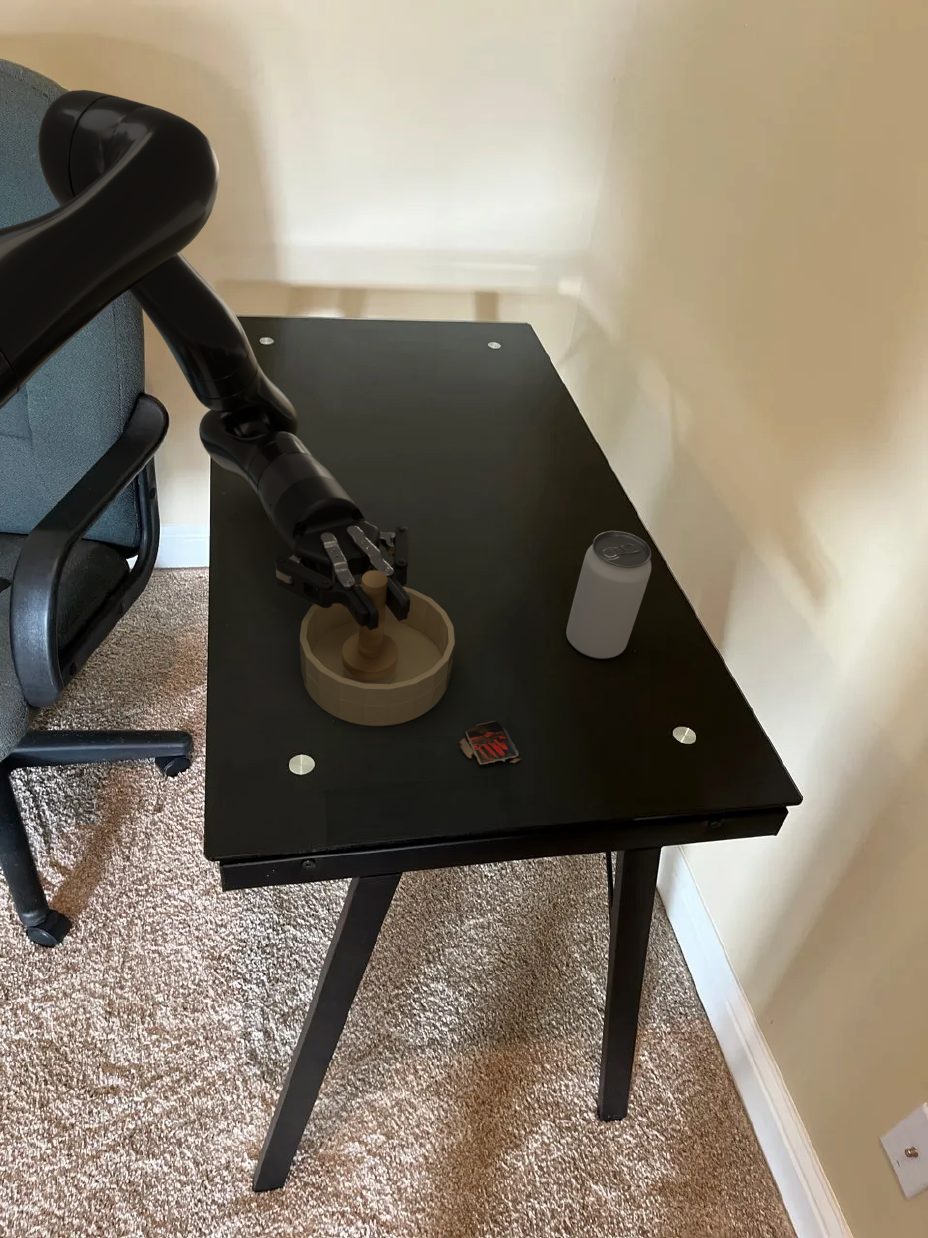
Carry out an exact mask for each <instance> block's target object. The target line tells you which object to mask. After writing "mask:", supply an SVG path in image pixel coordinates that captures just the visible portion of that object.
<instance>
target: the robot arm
mask: <svg viewBox="0 0 928 1238" xmlns="http://www.w3.org/2000/svg"><path fill="white" fill-rule="evenodd" d="M37 143H38V144H37V145H38V147H37V150H38V157H39V163H40V164H39V165H40V168H41V171H42V174H43V178H44V180H45V182H46V185H47V186H48V189H49V190H50V192H51V195H52V196H53V197H54V199H55V201H56V202H57V203H58V205H59V206H58V207H57V208H55V209H53V210H51V211H49V212H46V213H45V214H42V215H39V216H37V217H35V218H31V219H29V220H25V221H21V222H18V223H16V224H12V225H9V226H5V227H1V228H0V411H1V410H2V409H3V408H4V407H5V406H6V405H7V404H8V403H10V401H11V400H12V399H13V398H15V396H16V395H17V394H18V393H19V392H20V391H21V390H22V389H23V388H24V387H25V386H26V385H27V383H28V382H29V381H30V380H31V379H32V378H33V377H34V376H35V375H36V374H37V373H38V372H39V371H40V370H41V368H43V366H45V364H46V363H48V361H50V360H51V359H52V358H53V357H54V356H56V354H57V353H58V352H60V351H61V350H62V349H63V348H64V347H65V346H66V345H67V344H68V343H69V342H71V341H72V340H73V339H74V338H75V337H76V336H78V335H79V333H81V331H82V330H84V329H85V328H86V327H87V326H88V325H89V324H91V323H92V322H93V321H94V320H95V319H97V317H98V316H100V314H102V312H103V311H105V310H106V309H107V308H108V307H109V306H110V305H112V304H113V303H114V302H115V301H117V300H118V299H119V298H120V297H122V296H123V295H124V294H125V293H127V292H129V293H130V295H131V296H132V297H133V298H134V300H135V301H136V303H137V304H138V305H139V306H140V308H141V309H142V310H143V312H144V314H146V316H147V317H148V319H149V320H150V321H151V323H152V324H153V326H154V328H156V330H157V331H158V334H159V335H160V336H161V338H162V339H163V341H164V342H165V345H166V346H167V347H168V349H169V351H170V352H171V355H172V356H173V358H174V360H175V362H176V363H177V366H178V367H179V369H180V371H181V372H182V374H183V376H184V378H185V380H186V381H187V383H188V385H189V387H190V388H191V390H192V392H193V394H194V396H195V397H196V399H197V400H198V401H199V402H200V404H201V405H203V407H205V408H206V409H208V411H207V412H206V413H204V415H203V416H202V418H201V420H200V423H199V426H198V427H199V428H198V434H199V440H200V442H201V444H202V447H203V448H204V450H205V452H207V454H208V456H210V458H211V459H212V460H213V461H214V462H215V463H217V465H218V466H220V467H221V468H223V469H224V470H226V471H227V472H228V473H230V474H232V475H234V476H236V477H237V478H239V479H240V480H242V481H243V482H245V483H247V484H248V485H249V486H250V488H251V489H252V491H253V492H254V493H255V495H256V496H257V498H258V499H259V500H260V502H261V504H262V507H263V509H264V512H265V514H266V515H267V517H268V520H269V521H270V524H271V525H272V526H274V528H275V529H276V531H277V532H278V534H279V535H280V536H281V538H282V539H283V541H284V542H285V544H286V545H287V547H288V548H289V550H290V551H291V553H292V555H291V556H290V557H288V556H279V557H277V558H276V559H275V562H274V563H275V577H276V584H277V585H278V586H280V587H282V588H284V589H285V590H287V591H290V592H291V593H293V594H295V595H297V596H299V597H301V598H303V599H305V600H306V601H308V602H310V603H313V605H314V604H316V605H318V606H320V607H322V608H330V607H331V606H332V605H333V604H334V603H340V604H342V605H343V606H344V607H347V609H348V610H349V612H350V613H351V614H352V616H353V617H354V619H355V620H356V622H357V623H358V624H359V625H361V626H362V627H363V626H367V628H368V629H369V630H373V629H376V628H378V624H379V613H378V610H377V608H376V606H375V605H374V604H373V602H372V601H371V600H370V598H369V597H368V595H367V594H366V593H365V592H364V591H363V590H362V587H361V586H360V585H358V584H357V585H358V586H355V585H356V580H355V578H354V576H359V578H360V579H362V576H363V575H364V574H365V573H366V572H368V571H373V570H376V571H380V572H383V573H384V574H385V575H386V576H387V578H388V584H387V596H386V605H387V607H388V608H389V609H390V611H391V612H392V613H393V615H394V616H395V617H396V619H397V620H398V621H402V620H405V619H407V617H408V612H409V610H410V596H409V594H408V593H407V592H406V591H405V589H404V588H403V587H405V586H406V585H407V583H408V567H409V529H408V527H406V526H405V525H399V526H398V525H397V526H396V527H395V529H394V532H387V531H380V529H379V528H378V527H377V526H375V525H374V524H371V523H369V522H368V521H367V520H366V519H365V516H364V515H363V513H362V511H361V510H360V507H359V506H358V505H357V503H355V502H354V500H353V499H352V498H351V496H350V495H349V494H348V493H347V491H346V490H345V489H344V487H342V485H341V484H340V483H339V481H338V480H337V479H336V477H334V475H333V474H332V472H330V471H329V470H328V468H326V466H324V465H323V464H322V463H320V462H319V460H318V459H317V458H316V457H315V455H314V454H313V453H312V452H311V451H310V449H309V448H308V447H307V446H306V444H304V442H303V441H302V440H301V439H300V438H299V437H298V436H297V435H298V432H299V426H300V420H299V415H298V412H297V410H296V408H295V406H294V405H293V403H292V402H291V400H290V399H289V398H288V397H287V396H286V394H285V393H284V392H283V391H282V390H281V389H280V388H279V387H278V386H277V385H276V384H275V383H273V381H272V380H271V379H269V377H268V376H267V375H266V374H265V372H263V369H262V368H261V366H260V365H259V362H258V360H257V357H256V356H255V353H254V350H253V348H252V345H251V344H250V342H249V339H248V337H247V334H246V332H245V330H244V327H243V326H242V323H241V322H240V320H239V319H238V317H237V316H236V314H235V312H234V311H233V310H232V308H231V307H230V306H229V305H228V304H227V303H226V302H227V301H225V300H224V299H223V298H222V296H221V295H220V294H219V293H218V291H217V290H216V289H215V288H214V287H213V286H212V285H211V284H210V283H209V282H208V281H207V280H206V279H205V277H203V276H202V274H201V273H200V272H199V271H198V270H197V269H196V268H195V267H194V266H193V265H192V263H191V262H190V261H189V260H188V259H187V257H186V256H185V255H184V254H183V253H182V252H181V251H183V250H184V249H185V248H186V247H187V246H188V245H190V244H191V243H192V242H193V241H194V239H195V238H197V236H198V235H199V234H200V232H201V231H202V229H203V228H204V227H205V226H206V224H207V222H208V220H209V219H210V217H211V214H212V213H213V210H214V208H215V205H216V202H217V199H218V194H219V188H220V174H221V173H220V172H221V171H220V164H219V160H218V157H217V154H216V151H215V148H214V146H213V145H212V143H211V142H210V140H209V139H208V137H207V135H206V134H205V133H204V132H203V131H201V129H200V128H198V126H196V125H195V124H194V123H192V122H190V121H188V120H187V119H185V118H183V117H181V116H180V115H177V114H175V113H172V112H171V111H168V110H165V109H163V108H160V107H157V106H156V107H155V106H152V105H149V104H146V103H141V102H139V101H135V100H131V99H128V98H126V97H125V98H124V97H121V96H117V95H113V94H110V93H104V92H99V91H96V90H95V91H94V90H88V89H78V90H70V91H68V92H66V93H63V94H60V95H59V96H58V97H56V99H54V100H53V101H52V102H51V103H50V105H49V106H48V108H47V109H46V110H45V113H44V115H43V118H42V120H41V122H40V127H39V131H38V142H37ZM380 547H382V548H384V549H385V552H387V553H388V555H389V558H393V564H391V565H390V564H389V563H388V562H387V561H386V560H385V559H384V557H383V556H382V553H381V551H380V549H379V548H380Z"/></svg>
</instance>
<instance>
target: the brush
mask: <svg viewBox="0 0 928 1238" xmlns="http://www.w3.org/2000/svg"><path fill="white" fill-rule="evenodd" d="M361 584H362V586H361V587H362V590H363V591H364V592H365V593H366V594H367V595H368V597H369V598H370V600H371V601H372V602H373V604H374V605H375V606H376V608H377V610H378V613H379V624H378V628H376V629H373V630H369V629H368V628H367V626H363V627H362V626H361V625H360V627H359V632H358V633H355V634H353V635H352V636H350V637H349V638H348V639H347V640H346V641H345V643H344V644H343V647H342V663H343V666H344V676H345V678H346V679H350V680H353V681H357V682H361V683H365V684H389V683H390V682H391V681H392V679H393V677H394V670H395V667H396V665H397V661H398V647H397V645H396V643H395V642H394V641H393V639H391V638H390V637H389V636H387V635H386V634H384V622H385V609H386V596H387V584H388V578H387V576H386V575H385V574H384V573H383V572H380V571H376V570H373V571H368V572H366V573H365V574H364V575H363V576H362V578H361Z"/></svg>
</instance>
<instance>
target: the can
mask: <svg viewBox="0 0 928 1238" xmlns="http://www.w3.org/2000/svg"><path fill="white" fill-rule="evenodd" d="M651 558H652V550H651V547H650V546H649V544H648V543H647V542H646V541H645V540H644V539H642V538H640V537H639V536H637V535H635V534H633V533H630V532H626V531H621V530H608V531H603V532H601V533H598V534H597V536H595V537H594V539H593V541H592V544H591V545H590V546H589V547H588V548H587V550H586V553H585V555H584V558H583V562H582V566H581V568H580V569H581V570H580V573H579V578H578V581H577V585H576V589H575V592H574V597H573V601H572V604H571V609H570V613H569V616H568V621H567V626H566V631H565V634H566V638H567V640H568V642H569V643H570V645H571V646H572V647H573V648H574V649H575V650H576V651H577V652H579V653H580V654H581V655H584V656H586V657H589V658H592V659H598V660H606V659H607V660H608V659H612V658H615V657H617V656H619V655H620V654H622V653H623V652H625V650H626V648H627V646H628V644H629V640H630V637H631V634H632V631H633V628H634V625H635V622H636V619H637V617H638V613H639V610H640V607H641V604H642V601H643V598H644V594H645V592H646V588H647V585H648V582H649V579H650V576H651V573H652V561H651Z"/></svg>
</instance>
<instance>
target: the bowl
mask: <svg viewBox="0 0 928 1238" xmlns="http://www.w3.org/2000/svg"><path fill="white" fill-rule="evenodd" d="M358 585H360V586H362V583H359V584H355V586H358ZM402 587H403V588H404V589H405V591H406V592H407V593H408V594H409V596H410V610H409V612H408V617H407V619H405V620H402V621H398V620H397V619H396V617H395V616H394V615H393V613H392V612H391V611H390V609H389V608H388V607H387V605H386V609H385V622H384V634H386V635H387V636H389V637H390V638H391V639H393V641H394V642H395V643H396V645H397V647H398V661H397V665H396V667H395V670H394V677H393V679H392V681H391V682H390V683H389V684H365V683H361V682H357V681H353V680H350V679H346V678H345V676H344V666H343V663H342V647H343V644H344V643H345V641H346V640H347V639H348V638H349V637H350V636H352V635H353V634H355V633H358V632H359V627H360V625H359V624H358V623H357V622H356V620H355V619H354V617H353V616H352V614H351V613H350V612H349V610H348V609H347V607H344V606H343V605H342V604H340V603H334V604H333V605H332V606H331V607H330V608H322V607H320V606H318V605H316V604H314V603H313V604H312V606H310V608H309V609H308V610H307V612H306V614H305V616H304V617H303V619H302V621H301V623H300V633H299V654H300V656H299V657H300V673H301V676H302V681H303V685H304V688H305V690H306V692H307V693H308V695H309V696H310V698H311V699H312V700H313V702H315V704H316V705H317V706H319V707H320V708H321V709H322V710H323V711H324V712H327V713H328V714H330V715H331V716H333V717H335V718H338V719H340V720H341V721H342V720H343V721H345V722H348V723H352V724H356V725H361V726H368V727H385V726H394V725H399V724H403V723H406V722H410V721H412V720H415V719H418V717H421V716H422V715H424V714H426V713H428V712H429V711H430V710H432V709H433V708H434V707H435V706H436V705H437V704H438V703H439V702H440V701H441V700H442V698H443V697H444V695H445V693H446V691H447V689H448V686H449V682H450V679H451V676H452V669H453V661H454V653H455V645H456V640H455V627H454V625H453V623H452V621H451V619H450V617H449V615H448V613H447V612H446V610H444V609H443V608H442V607H441V606H440V605H439V604H438V603H437V602H436V601H435V600H434V599H432V598H431V597H429V596H427V595H425V594H424V593H422V592H419V591H417V590H416V589H414V588H410V587H406V586H402Z"/></svg>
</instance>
